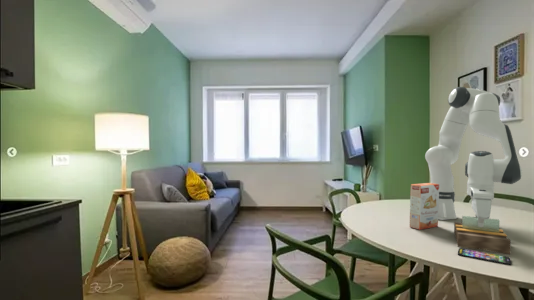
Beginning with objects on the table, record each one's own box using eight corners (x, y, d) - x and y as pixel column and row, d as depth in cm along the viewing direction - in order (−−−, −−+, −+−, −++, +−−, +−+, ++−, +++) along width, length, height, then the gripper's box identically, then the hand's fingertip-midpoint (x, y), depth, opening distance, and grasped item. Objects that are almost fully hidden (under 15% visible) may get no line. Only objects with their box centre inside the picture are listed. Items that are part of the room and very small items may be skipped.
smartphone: (511, 264, 96) (457, 253, 105) (511, 267, 96) (457, 256, 105) (509, 256, 102) (458, 247, 111) (509, 259, 102) (458, 250, 111)
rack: (457, 246, 114) (458, 233, 114) (454, 232, 131) (454, 221, 131) (510, 254, 106) (510, 239, 106) (498, 238, 124) (499, 226, 123)
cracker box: (420, 230, 135) (421, 185, 134) (408, 227, 140) (409, 184, 140) (439, 226, 141) (439, 183, 141) (427, 223, 147) (428, 182, 146)
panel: (462, 238, 121) (462, 216, 121) (462, 237, 123) (462, 215, 122) (499, 243, 115) (499, 220, 115) (498, 241, 117) (498, 219, 116)
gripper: (467, 187, 129) (467, 218, 129) (473, 194, 111) (473, 230, 111) (485, 188, 126) (485, 220, 126) (494, 195, 108) (494, 232, 108)
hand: (479, 225), depth 119 cm, fingers open, 3 cm apart
